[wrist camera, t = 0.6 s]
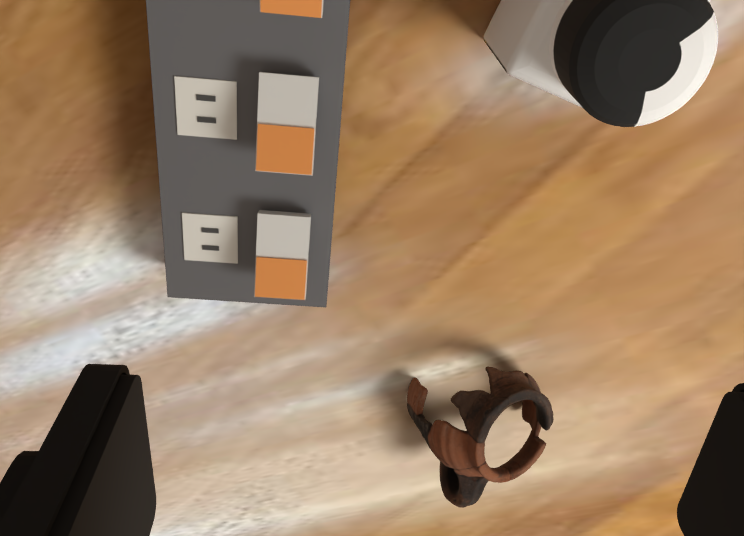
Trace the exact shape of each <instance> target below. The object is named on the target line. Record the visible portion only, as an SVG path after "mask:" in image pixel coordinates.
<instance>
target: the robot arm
mask: <svg viewBox="0 0 744 536" xmlns="http://www.w3.org/2000/svg"><path fill="white" fill-rule="evenodd" d="M155 510H156V492H155V484H154V476H153V468H152V461H151V453H150V445H149V437H148V429H147V421H146V413H145V405H144V397H143V390H142V382H141V378H140V376H139V375H130V374H129V370H128V368H127V366H125V365H106V364H88V365H86V366H85V367H84V368H83V370H82V372H81V373H80V375H79V377H78V379H77V381H76V383H75V385H74V387H73V388H72V390H71V392H70V394H69V396H68V398H67V400H66V401H65V403H64V405H63V407H62V409H61V411H60V413H59V414H58V416H57V418H56V420H55V422H54V424H53V426H52V428H51V429H50V431H49V433H48V435H47V437H46V439H45V441H44V442H43V444H42V446H41V448H40V450H39V451H23V452H22V453H20V454H19V455H17V457H16V458H15V459H14V461H13V462H12V463H11V465H10V467H9V469H8V470H7V472H6V474H5V476H4V477H3V479H2V481H1V483H0V536H149V535H150V531H151V528H152V525H153V521H154V517H155ZM677 518H678V523H679V526H680V528H681V530H682V532H683V534H684V536H744V383H741V384H738V385H737V386H735V387H734V389H733V391H732V392H728V393H726V394H725V395H724V397H723V399H722V401H721V404H720V406H719V408H718V411H717V413H716V415H715V418H714V420H713V423H712V425H711V427H710V430H709V432H708V435H707V437H706V439H705V442H704V444H703V446H702V449H701V451H700V454H699V456H698V458H697V461H696V463H695V466H694V468H693V470H692V473H691V475H690V477H689V480H688V482H687V485H686V487H685V489H684V492H683V494H682V497H681V499H680V501H679V504H678V507H677Z"/></svg>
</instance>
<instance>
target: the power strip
mask: <svg viewBox="0 0 744 536" xmlns="http://www.w3.org/2000/svg"><path fill="white" fill-rule="evenodd" d="M146 7H147V21H148V35H149V48H150V62H151V76H152V89H153V103H154V117H155V130H156V144H157V158H158V172H159V185H160V199H161V213H162V226H163V240H164V254H165V267H166V281H167V295H168V297H174V298H190V299H205V300H220V301H236V302H251V303H267V304H282V305H297V306H313V307H326V304H327V291H328V279H329V266H330V253H331V240H332V227H333V214H334V201H335V188H336V176H337V163H338V150H339V137H340V124H341V111H342V98H343V85H344V73H345V60H346V47H347V34H348V21H349V8H350V0H324V2H323V15H322V18H315V17H305V16H295V15H285V14H274V13H264V12H260V0H146ZM259 72H266V73H277V74H288V75H299V76H310V77H319V88H318V103H317V119H316V135H315V150H314V166H313V176H311V175H298V174H286V173H273V172H261V171H255V166H256V140H257V114H258V89H259ZM259 210H268V211H282V212H295V213H308V214H311V225H310V241H309V256H308V272H307V288H306V299H305V300H297V299H282V298H267V297H254V289H255V264H256V240H257V215H258V212H259Z"/></svg>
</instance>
